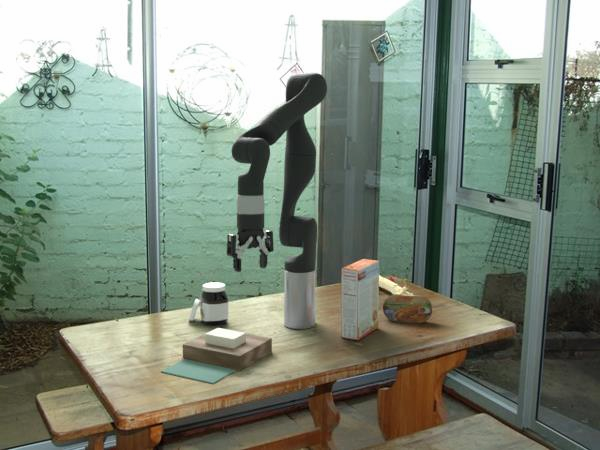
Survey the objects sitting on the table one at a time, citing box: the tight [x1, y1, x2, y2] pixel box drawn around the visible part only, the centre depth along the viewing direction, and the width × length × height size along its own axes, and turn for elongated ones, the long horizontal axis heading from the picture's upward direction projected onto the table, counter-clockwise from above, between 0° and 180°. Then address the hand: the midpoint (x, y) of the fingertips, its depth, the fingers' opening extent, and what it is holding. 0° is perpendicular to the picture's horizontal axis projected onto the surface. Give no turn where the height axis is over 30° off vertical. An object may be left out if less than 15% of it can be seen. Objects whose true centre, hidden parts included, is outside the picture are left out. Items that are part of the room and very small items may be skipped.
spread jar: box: [188, 281, 230, 326], centre depth 240 cm, size 12×11×12 cm
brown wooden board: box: [182, 331, 273, 372], centre depth 211 cm, size 16×18×4 cm
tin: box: [382, 294, 433, 324], centre depth 242 cm, size 15×3×8 cm, turn 76°
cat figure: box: [379, 274, 415, 295], centre depth 274 cm, size 10×9×25 cm
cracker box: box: [340, 258, 380, 341], centre depth 229 cm, size 14×6×21 cm, turn 149°
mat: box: [160, 359, 237, 385], centre depth 200 cm, size 10×16×1 cm, turn 62°
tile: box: [204, 327, 247, 348], centre depth 210 cm, size 6×9×2 cm, turn 62°
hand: (250, 269), depth 217 cm, fingers open, 8 cm apart
